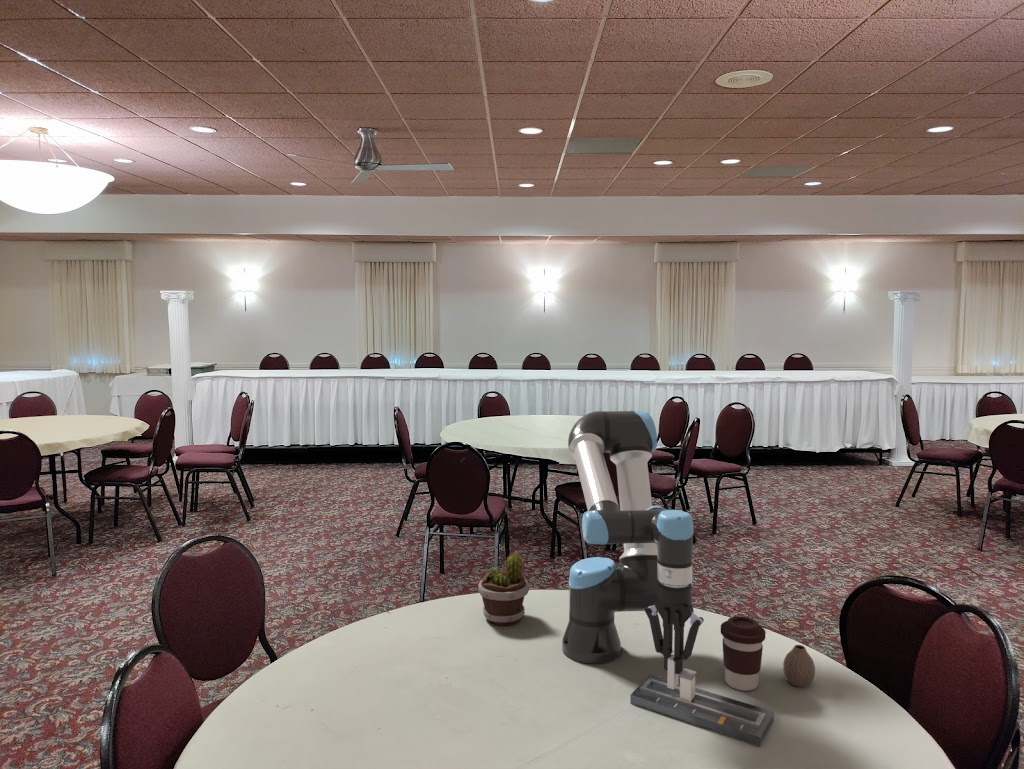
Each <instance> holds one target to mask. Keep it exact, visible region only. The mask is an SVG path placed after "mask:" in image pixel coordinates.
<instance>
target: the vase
mask: <svg viewBox="0 0 1024 769" xmlns="http://www.w3.org/2000/svg"><path fill="white" fill-rule="evenodd" d="M782 667H783V669H782V670H783V674H784V676H785V678H786V680H787V682H789V683H790V685H792V686H795V687H799V688H805V687H808V686H810V685H811V684H812V683H813V681H814V679H815V676H816V666H815V662H814V660H813V658H812V657H811V655H810V654H809V653H808V651H807V648H806V646H805V645H802V644H795V645H794V646H793V647H792V649H791V650H790V651H788V653H787V654H786V655H785V657H784V660H783V663H782Z"/></svg>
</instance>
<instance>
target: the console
mask: <svg viewBox="0 0 1024 769" xmlns="http://www.w3.org/2000/svg"><path fill="white" fill-rule="evenodd" d="M629 697H630V704H631V705H634V706H638V707H640V708H643V709H646V710H650V711H652V712H654V713H658V714H661V715H664V716H667V717H670V718H673V719H676V720H679V721H681V722H682V721H683V722H685V723H688V724H691V725H693V726H697V727H699V728H703V729H707V730H709V731H712V732H714V733H718V734H720V735H722V736H723V735H724V736H727V737H729V738H733V739H736V740H737V741H741V742H744V743H747V744H750V745H753V746H757V747H761V745H762V744H763V742H764V740H765V738H766V736H767V734H768V732H769V730H770V728H771V727H772V725H773V722H774V719H775V718H774V716H775V712H774V711H773V710H770V709H767V708H763V707H760V706H757V705H753V704H750V703H747V702H744V701H740V700H737V699H733V698H730V697H727V696H723V695H721V694H717V693H713V692H711V691H708V690H704V689H700V688H697V687H695V697H694V698H693V699H692V701H691V702H690V701H686V700H683V699H680V682H678V685H677V686H676V687H675V688H674V689H671V688H667V678H664V677H663V676H662V677H661V676H658V675H655V674H651V673H649V675H648V676H646V678H644V679H643V681H642V682H641V683H640V684H639V685H638V686H637V687H636V688H635V690H633V691H632V692H631V694H630V696H629Z"/></svg>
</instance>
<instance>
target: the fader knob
mask: <svg viewBox="0 0 1024 769" xmlns="http://www.w3.org/2000/svg"><path fill="white" fill-rule="evenodd" d="M696 676H697V671H695V670H692V669H688V668H682V671H681V673H680V674H678V678H679V679H680V680H679V683H680V699H683V700H686V701H690V702H691V701H692V699H693V698H694V697H695V688H696Z"/></svg>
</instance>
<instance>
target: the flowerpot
mask: <svg viewBox="0 0 1024 769" xmlns="http://www.w3.org/2000/svg"><path fill="white" fill-rule="evenodd" d="M516 550H517V549H515V550H514V552H513V551H511V553H509V556H507V557H506V558H505V561H504V562H503V563H505V565H506V567H504V568H503V569H504V571H503V569H501V568H499V567H498V566H496V567H492V569H490V571H489V573H488V574H485V575H484V576H483V577H482V579H481V580H480V581H479V582H478V584H477V586H478V587H477V588H478V593H479V594H480V596H481V598H482V602H483V607H482V612H483V616H484V618H486V620H487V622H488V623H494V625H495V626H496V625H497V626H499V625H500V626H508V625H509V626H511V625H514V624H516V623H519V621H520V620H521V618H523V616H524V615H525V610H526V609H525V606H524V605H523V604H524V600H525V596H527V595H528V593H529V591H530V590H531V589H530V586H529V582H528V580H526V578H525V577H524V571H523V570H525V569H526V568H525V561H524V560H525V559H523V556H522V555H521V554H519V551H516Z"/></svg>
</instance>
